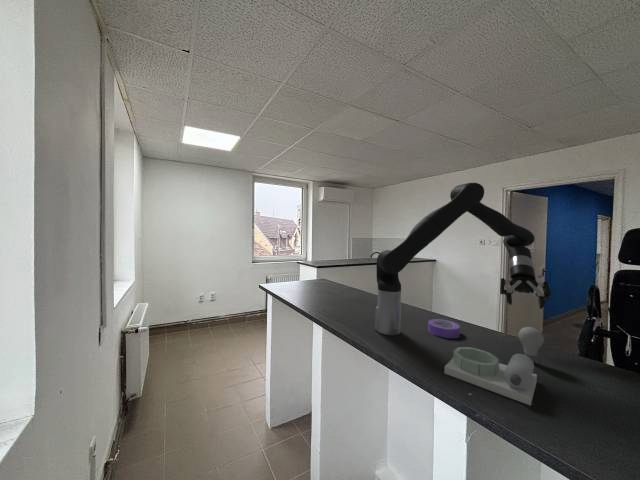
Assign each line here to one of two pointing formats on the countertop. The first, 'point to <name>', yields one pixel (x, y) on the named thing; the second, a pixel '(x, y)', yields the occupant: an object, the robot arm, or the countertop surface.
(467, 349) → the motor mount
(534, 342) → the lightbulb
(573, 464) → the countertop surface
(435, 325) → the masking tape
